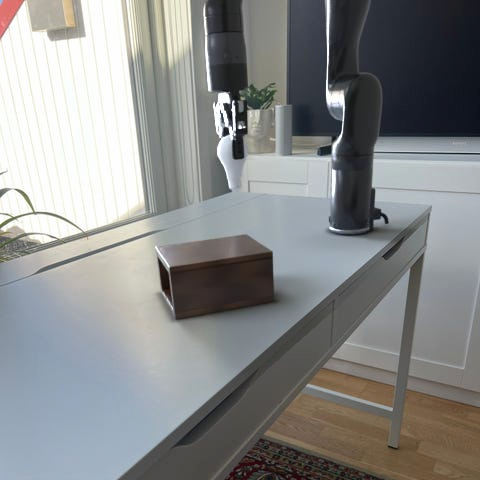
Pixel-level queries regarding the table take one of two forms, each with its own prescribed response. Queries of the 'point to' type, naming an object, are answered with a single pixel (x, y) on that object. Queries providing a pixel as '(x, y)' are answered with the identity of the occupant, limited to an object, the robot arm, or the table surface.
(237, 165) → the lightbulb
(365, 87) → the robot arm
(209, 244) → the shelf
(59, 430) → the table surface
